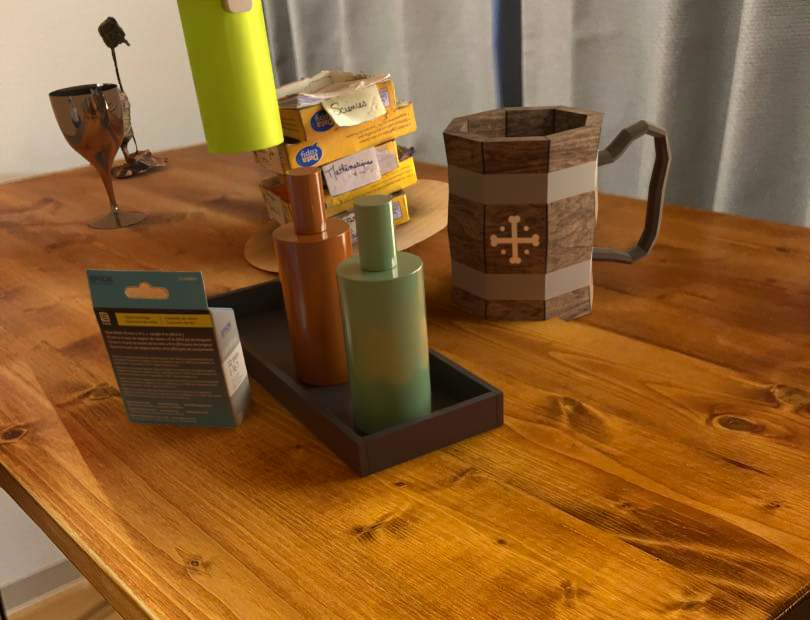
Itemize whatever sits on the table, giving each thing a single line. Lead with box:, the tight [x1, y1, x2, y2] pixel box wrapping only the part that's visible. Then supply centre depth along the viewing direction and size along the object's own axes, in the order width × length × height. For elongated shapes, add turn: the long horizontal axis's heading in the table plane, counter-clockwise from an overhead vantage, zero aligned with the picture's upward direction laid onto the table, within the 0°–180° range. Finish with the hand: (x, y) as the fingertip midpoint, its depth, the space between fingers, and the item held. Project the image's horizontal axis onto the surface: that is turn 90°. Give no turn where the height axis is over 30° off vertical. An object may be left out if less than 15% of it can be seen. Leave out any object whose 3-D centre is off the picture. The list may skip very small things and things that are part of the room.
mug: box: [442, 104, 673, 323], centre depth 76 cm, size 20×14×15 cm
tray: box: [206, 277, 505, 479], centre depth 69 cm, size 11×31×3 cm, turn 31°
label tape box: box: [84, 267, 255, 429], centre depth 62 cm, size 9×4×12 cm, turn 77°
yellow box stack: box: [243, 68, 449, 273], centre depth 93 cm, size 25×25×17 cm
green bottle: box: [335, 195, 432, 435], centre depth 58 cm, size 6×6×15 cm
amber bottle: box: [272, 166, 353, 386], centre depth 65 cm, size 6×6×15 cm
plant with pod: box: [89, 15, 169, 178], centre depth 126 cm, size 8×11×20 cm
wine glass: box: [48, 82, 147, 230], centre depth 107 cm, size 8×8×15 cm
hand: (219, 9), depth 62 cm, fingers closed on soap dispenser, 6 cm apart
